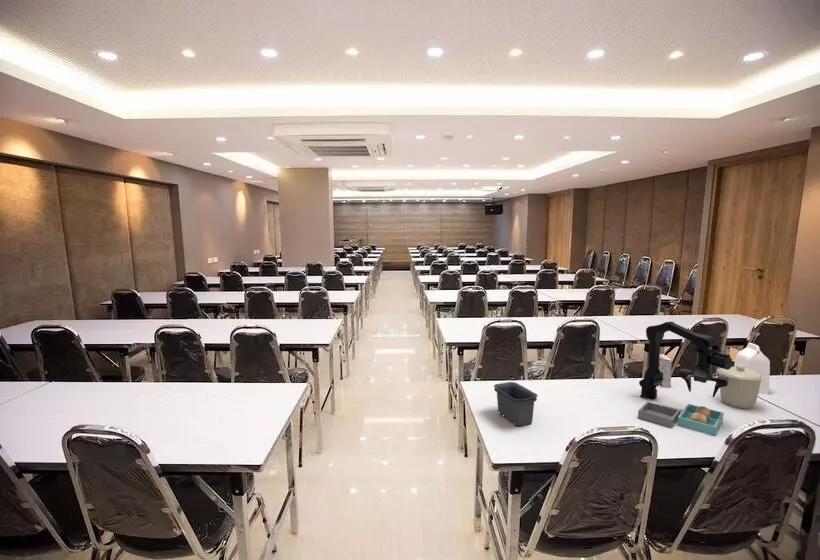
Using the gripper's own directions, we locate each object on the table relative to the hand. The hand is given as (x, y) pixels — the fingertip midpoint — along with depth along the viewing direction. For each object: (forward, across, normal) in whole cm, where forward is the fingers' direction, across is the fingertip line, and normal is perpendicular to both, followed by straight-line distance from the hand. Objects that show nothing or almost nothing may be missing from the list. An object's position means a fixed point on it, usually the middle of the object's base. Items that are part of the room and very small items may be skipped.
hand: (701, 394), depth 190 cm
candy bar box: (+12, -25, +36) cm, 45 cm away
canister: (+12, +10, +31) cm, 35 cm away
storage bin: (+12, -62, -62) cm, 88 cm away
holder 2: (+12, +2, -6) cm, 13 cm away
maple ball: (+8, +1, -2) cm, 9 cm away
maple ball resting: (+8, +2, -11) cm, 13 cm away
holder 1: (+12, -13, -14) cm, 23 cm away
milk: (+12, +12, +60) cm, 62 cm away
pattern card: (+12, -12, 0) cm, 16 cm away
